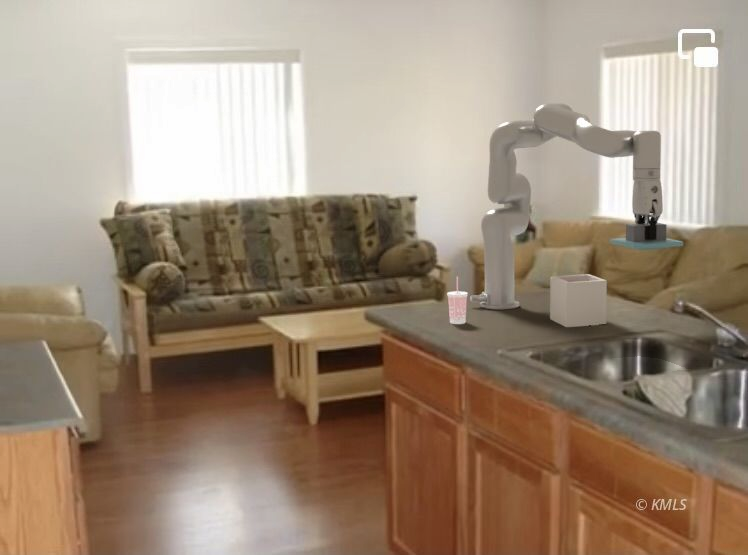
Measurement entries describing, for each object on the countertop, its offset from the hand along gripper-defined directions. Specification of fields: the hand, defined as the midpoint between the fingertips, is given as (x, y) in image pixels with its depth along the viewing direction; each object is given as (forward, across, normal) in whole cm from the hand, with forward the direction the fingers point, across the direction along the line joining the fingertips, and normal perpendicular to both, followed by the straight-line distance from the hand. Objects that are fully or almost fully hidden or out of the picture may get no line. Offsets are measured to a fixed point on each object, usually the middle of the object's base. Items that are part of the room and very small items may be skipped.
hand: (645, 237), depth 286 cm
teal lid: (+3, 0, 0) cm, 3 cm away
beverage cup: (+25, +20, +50) cm, 60 cm away
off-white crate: (+25, +10, +16) cm, 32 cm away
